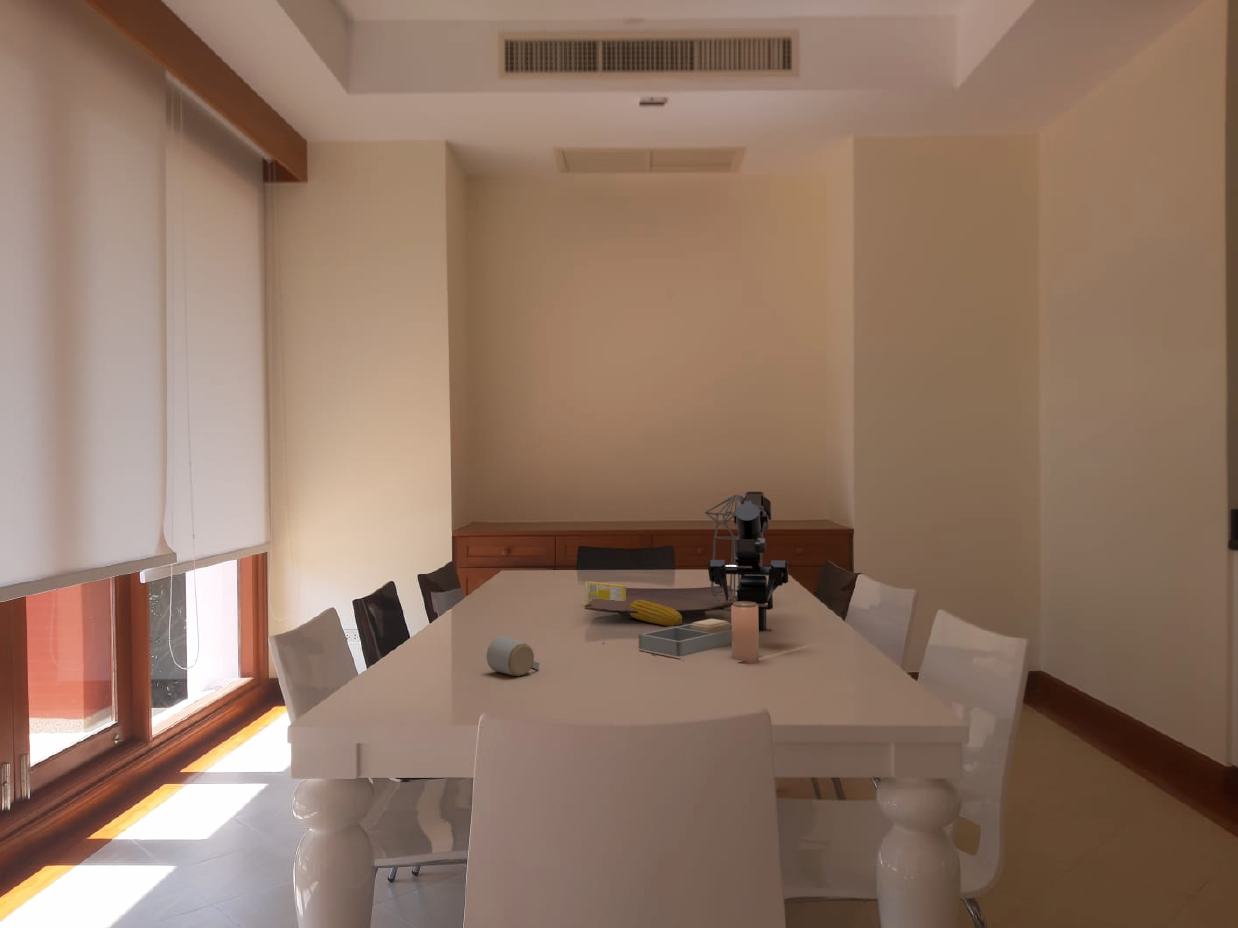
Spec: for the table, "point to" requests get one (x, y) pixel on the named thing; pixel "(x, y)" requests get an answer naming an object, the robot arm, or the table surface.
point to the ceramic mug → (510, 656)
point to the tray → (682, 640)
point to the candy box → (604, 591)
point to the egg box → (710, 626)
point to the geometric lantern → (725, 537)
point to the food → (655, 613)
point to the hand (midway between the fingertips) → (746, 599)
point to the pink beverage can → (745, 632)
